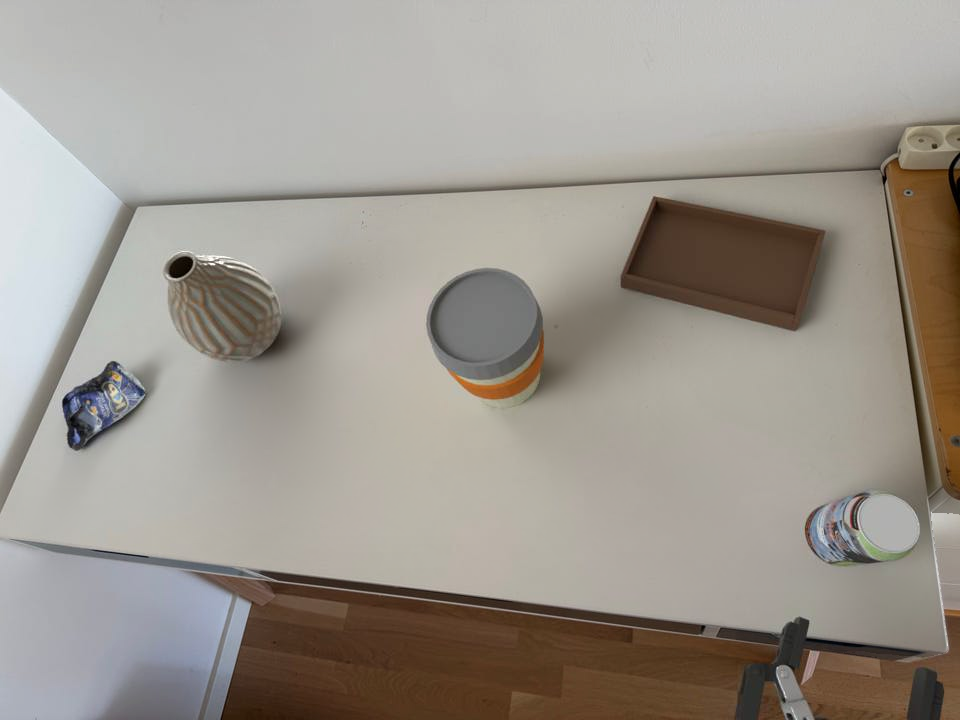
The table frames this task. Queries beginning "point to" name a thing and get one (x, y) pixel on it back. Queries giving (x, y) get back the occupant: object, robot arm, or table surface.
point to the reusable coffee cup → (489, 335)
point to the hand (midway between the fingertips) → (862, 643)
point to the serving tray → (724, 261)
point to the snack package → (100, 403)
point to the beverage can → (863, 529)
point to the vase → (221, 306)
